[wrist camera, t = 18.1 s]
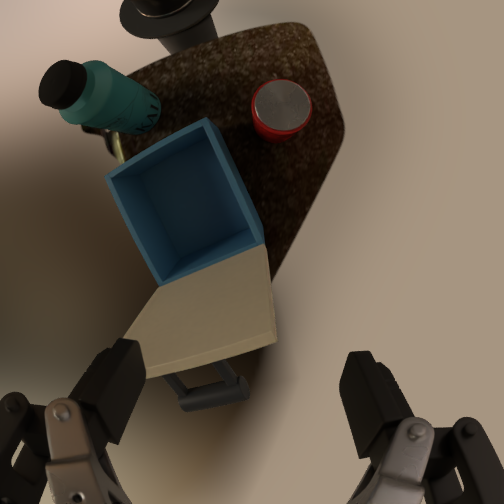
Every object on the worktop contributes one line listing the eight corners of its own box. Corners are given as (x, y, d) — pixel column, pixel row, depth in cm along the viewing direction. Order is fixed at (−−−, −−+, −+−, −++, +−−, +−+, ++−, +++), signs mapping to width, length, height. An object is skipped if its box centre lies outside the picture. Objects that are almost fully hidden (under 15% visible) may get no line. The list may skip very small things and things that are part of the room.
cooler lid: (95, 379, 15) (145, 431, 17) (272, 330, 13) (307, 400, 15) (157, 287, 29) (183, 330, 31) (263, 243, 27) (285, 292, 29)
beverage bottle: (118, 109, 31) (19, 83, 12) (156, 84, 30) (75, 29, 11) (134, 145, 33) (34, 140, 14) (175, 120, 32) (94, 83, 13)
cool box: (135, 172, 34) (103, 176, 26) (218, 127, 32) (206, 116, 24) (179, 262, 38) (160, 288, 30) (263, 226, 36) (265, 245, 28)
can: (245, 111, 32) (241, 89, 21) (285, 96, 31) (297, 69, 20) (263, 149, 33) (266, 142, 23) (302, 134, 32) (323, 121, 22)
